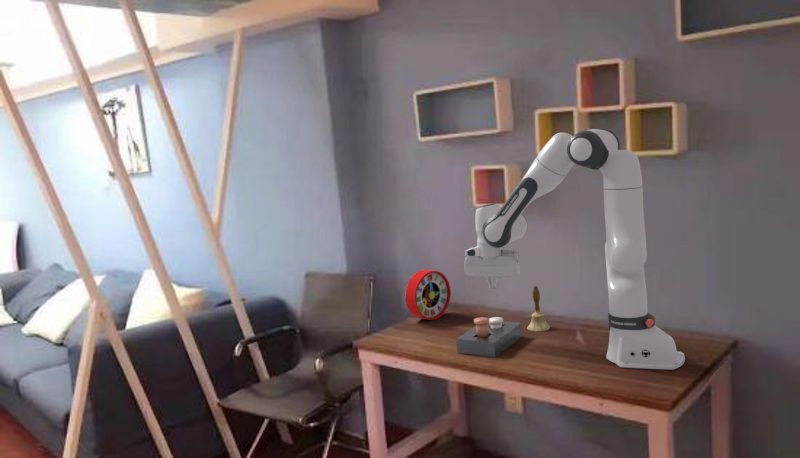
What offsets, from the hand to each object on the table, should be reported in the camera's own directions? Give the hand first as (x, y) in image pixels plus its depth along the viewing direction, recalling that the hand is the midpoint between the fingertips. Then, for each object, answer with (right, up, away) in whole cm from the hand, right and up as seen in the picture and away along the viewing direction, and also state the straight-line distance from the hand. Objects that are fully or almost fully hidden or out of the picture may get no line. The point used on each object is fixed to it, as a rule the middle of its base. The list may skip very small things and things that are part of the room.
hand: (493, 288), depth 226 cm
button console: (-1, -19, -2) cm, 19 cm away
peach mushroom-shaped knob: (-5, -15, -7) cm, 18 cm away
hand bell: (+18, -16, +11) cm, 27 cm away
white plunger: (+2, -17, +2) cm, 17 cm away
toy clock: (-20, -16, +38) cm, 46 cm away
